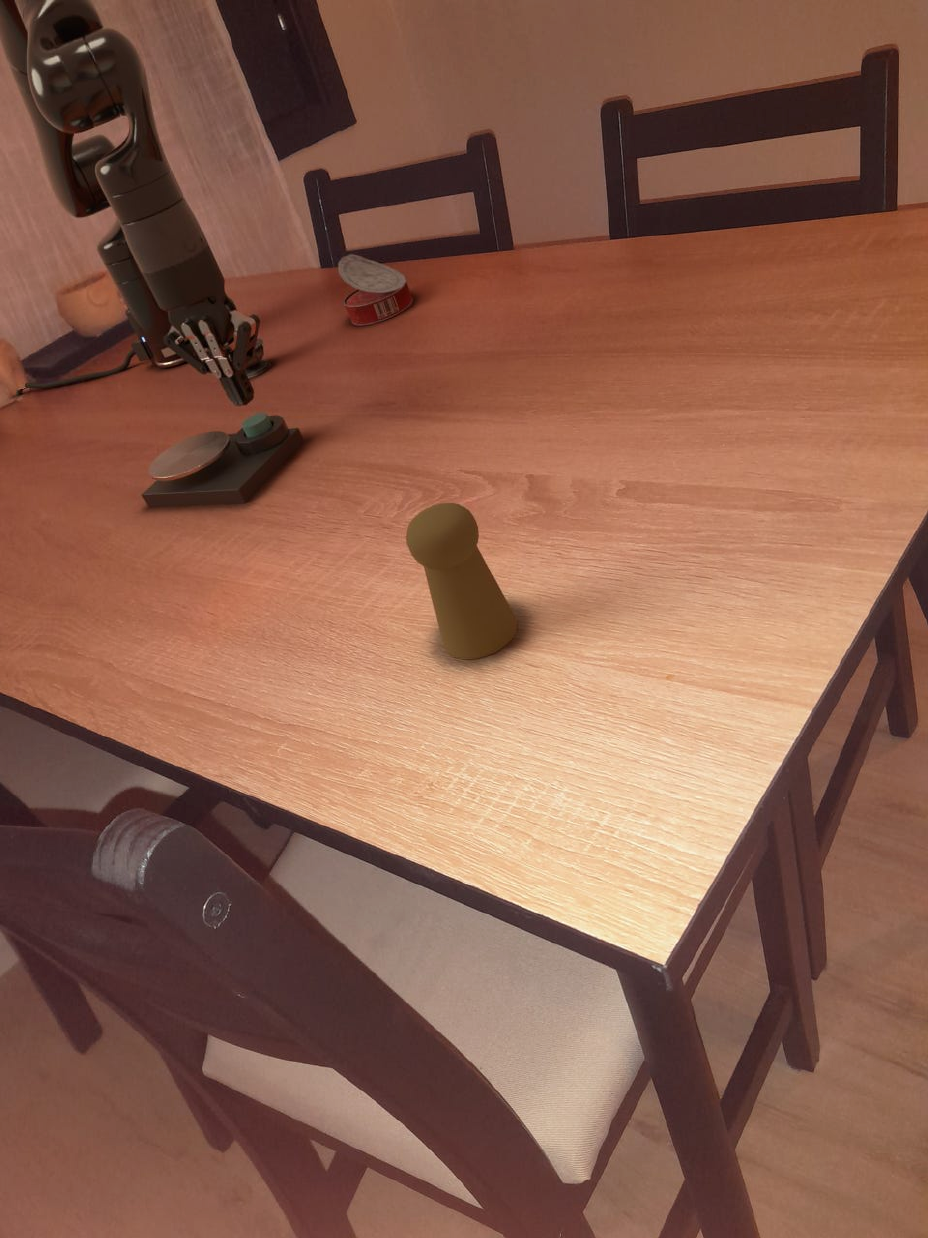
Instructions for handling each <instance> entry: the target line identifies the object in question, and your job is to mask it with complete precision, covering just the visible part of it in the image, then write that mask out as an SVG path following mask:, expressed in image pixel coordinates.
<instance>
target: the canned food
mask: <svg viewBox="0 0 928 1238" xmlns="http://www.w3.org/2000/svg"><path fill="white" fill-rule="evenodd" d="M337 264H338V265H337V267H338V274H339V277H341V279H342V280H343V281H344V283H346V284H347V285H349V286H350V287H351V288H353V289H356V290H354V291H352V292H351V293H350V294H348V295H347V296H346V297H345V299H344V301H343V305H344V306H345V309H346V312H347V315H348V317H349V320H350V322H351V324H353V325H355V326H369V325H374V324H378V323H380V322H384V321H386V320H389V319H391V318H393V317H395V316H397V315H399V314H401V313H403V312H404V311H405V310H406V309H408V308H409V307H410V306H411V305H412V303H413V300H414V299H413V296H412V294H411V291H410V288H409V286H408V282H407V279H406V276H405V275H404V274H403V273H401V272H400V271H399V270H397V269H395V268H392V267H390V266H388V265H387V264H383V263H379V262H377V261H375V260H371V259H368V258H366V257H364V256H361V255H357V254H353V253H350V254H348V255H343V256H342V257H341V258H340V260H339V261H338V263H337Z"/></svg>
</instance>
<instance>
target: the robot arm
mask: <svg viewBox="0 0 928 1238" xmlns="http://www.w3.org/2000/svg"><path fill="white" fill-rule="evenodd" d="M0 45H1V48H2V51H3V54H4V57H5V60H6V63H7V65H8V68H9V70H10V74H11V76H12V78H13V80H14V83H15V85H16V88H17V90H18V93H19V96H20V98H21V99H22V103H23V105H24V107H25V109H26V112H27V115H28V117H29V120H30V122H31V125H32V129H33V132H34V135H35V138H36V142H37V146H38V149H39V153H40V157H41V161H42V165H43V168H44V171H45V174H46V178H47V180H48V183H49V185H50V189H51V190H52V192H53V195H54V197H55V198H56V200H57V202H58V204H59V205H60V206H61V208H62V209H63V211H65V212H66V213H68V215H70V216H71V217H73V218H76V219H85V218H87V217H91V216H93V215H96V214H98V213H100V212H102V211H105V210H107V209H109V208H111V210H112V211H113V213H114V216H115V217H116V218H115V219H114V222H113V224H112V225H111V227H110V228H109V229H108V230H107V232H106V233H105V234H104V235H103V236H102V237H101V238H100V239H99V240H98V241H97V244H96V251H97V254H98V256H99V258H100V260H101V261H102V263H103V265H104V267H105V269H106V271H107V273H108V274H109V276H110V279H111V280H112V282H113V284H114V285H115V288H116V289H117V291H118V293H119V295H120V297H121V298H122V301H123V302H124V304H125V306H126V310H125V311H124V312H125V316H126V317H127V319H128V321H129V323H130V325H131V327H132V329H133V330H134V333H135V334H136V336H137V338H136V339H135V340H133V341H132V342H131V343H130V346H131V348H132V349H131V350H130V351H129V352H128V353H127V354H126V356H125V358H124V361H123V363H122V364H120V365H118V366H117V367H115V368H113V369H109V370H105V371H99V372H92V373H86V374H82V375H77V376H74V377H69V378H64V379H60V380H55V381H50V382H45V383H44V382H43V383H42V382H24V383H25V387H26V388H24V389H20V390H18V389H16V393H15V395H16V397H20V396H22V394H23V392H24V390H25V389H49V388H56V387H59V386H64V385H69V384H70V385H71V384H75V383H78V382H82V381H83V382H84V381H87V380H92V379H98V378H99V379H100V378H105V377H109V376H111V375H114V374H118V373H121V372H124V370H126V369H128V367H129V366H130V364H131V360H132V359H133V357H135V356H136V357H137V359H138V361H139V362H142V361H143V362H145V361H150V363H151V364H152V366H153V367H154V366H155V367H158V368H160V369H166V368H167V369H168V368H171V367H176V366H178V365H181V364H184V363H187V364H189V365H190V366H191V367H192V368H194V369H195V370H196V371H197V372H199V373H200V374H201V375H204V376H205V375H207V374H212V375H213V377H214V378H216V379H218V380H219V382H220V384H221V386H222V388H223V390H224V393H225V394H226V396H227V397H228V399H229V400H230V402H232V404H233V406H235V407H241V406H242V407H243V406H247V405H248V404H249V403H250V402H252V401H253V400H254V398H255V389H254V387H253V385H252V383H251V380H250V378H249V379H248V376H247V374H246V372H245V370H244V366H246V365H247V364H248V363H249V362H250V361H251V360H252V359H253V358H254V354H255V348H256V342H257V338H258V336H259V329H260V324H261V320H260V317H259V315H257V314H255V313H253V314H250V315H249V316H247V315H246V314H243V313H242V312H240V311H239V310H237V311H236V309H237V306H236V304H235V302H234V301H233V299H232V298H230V297H229V296H228V294H227V293H226V288H225V285H226V281H225V277H224V275H223V273H222V271H221V268H220V266H219V264H218V262H217V260H216V257H215V255H214V253H213V250H212V248H211V247H210V245H209V243H208V240H207V238H206V236H205V233H204V230H203V229H202V227H201V225H200V222H199V220H198V219H197V217H196V215H195V213H194V212H193V210H192V208H191V207H190V205H189V204H188V202H187V200H186V198H185V197H184V194H183V192H182V191H183V190H182V189H181V187H180V185H179V182H178V180H177V179H176V177H175V174H174V172H173V170H172V168H171V165H170V163H169V161H168V158H167V156H166V154H165V151H164V148H163V145H162V142H161V139H160V135H159V132H158V129H157V124H156V120H155V116H154V112H153V111H154V110H153V106H152V100H151V94H150V89H149V83H148V76H147V73H146V68H145V65H144V62H143V58H142V57H141V54H140V52H139V50H138V48H137V47H136V46H135V44H134V43H133V41H132V40H131V39H130V38H129V37H127V36H126V35H125V34H124V33H123V32H121V31H120V30H119V29H116V28H113V27H104V23H103V20H102V18H101V15H100V12H99V10H98V8H97V6H96V4H95V2H94V0H0ZM125 116H126V117H127V120H128V133H127V134H126V137H125V138H124V140H123V141H121V143H120V144H118V145H117V146H116V145H115V144H114V143H113V141H111V139H110V138H109V137H108V136H106V135H105V134H101V133H98V134H94V135H92V136H88V137H86V138H84V139H81V140H80V141H77V142H75V143H73V141H74V137H75V134H81V133H84V132H87V131H89V130H92V129H94V128H97V127H99V126H102V125H105V124H107V123H109V122H111V121H114V120H117V119H119V118H121V117H125ZM231 299H232V300H231ZM233 302H234V303H233ZM229 355H230V357H231V359H230V357H229ZM231 360H232V361H231Z"/></svg>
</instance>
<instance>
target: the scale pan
mask: <svg viewBox="0 0 928 1238" xmlns="http://www.w3.org/2000/svg"><path fill="white" fill-rule="evenodd" d="M227 434H228V433H226V432H224V431H221V430H214V431H213V430H212V431H208V432H202V433H199V434H195V435H193V436H190V437H187V438H185V439H183V440H181V441H178V442H177V443H174V444H173V445H171V446H170V447H168V448H167V449H165V450H164V451H162V452H161V453H160V454H159V455H158V456H156V457H155V458H154V459H153V461H152V462H151V464H150V465H149V467H148V474H149V476H150V477H151V479H153V480H154V481H170V480H175V479H179V478H182V477H185V476H188V475H190V474H193V473H195V472H197V471H199V470H201V469H203V468H205V467H207V466H208V465H210V464H211V463H213V462H214V461H216V460H217V459H218V458H219V457H221V456H222V455H223V454H224V453H225V452H226V450H227V449H228V447H229V446H230V438H229V436H228V435H227Z"/></svg>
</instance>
